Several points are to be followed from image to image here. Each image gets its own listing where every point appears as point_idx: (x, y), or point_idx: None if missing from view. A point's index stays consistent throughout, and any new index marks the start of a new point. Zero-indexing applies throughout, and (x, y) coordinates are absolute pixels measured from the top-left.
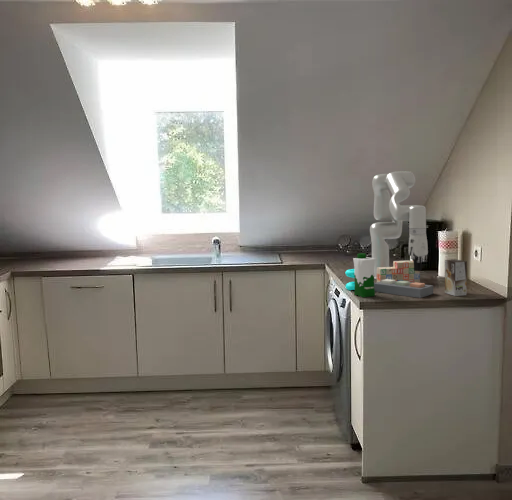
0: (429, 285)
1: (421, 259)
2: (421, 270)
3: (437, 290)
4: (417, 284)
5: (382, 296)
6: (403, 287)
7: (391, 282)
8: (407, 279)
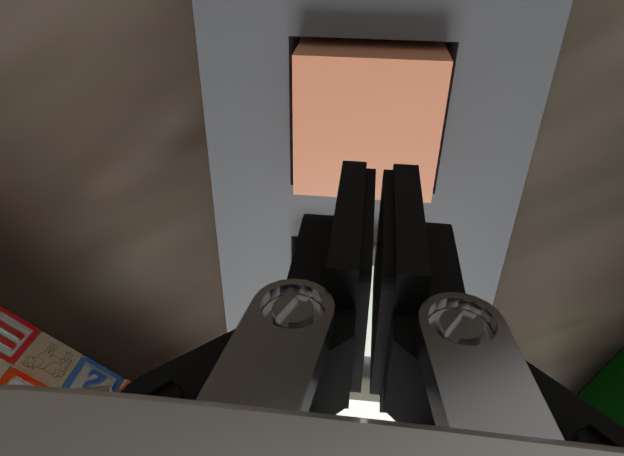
0: (215, 15)
1: (295, 344)
2: (348, 161)
3: (19, 18)
4: (431, 100)
5: (619, 298)
6: (514, 219)
7: (368, 388)
8: (21, 371)
